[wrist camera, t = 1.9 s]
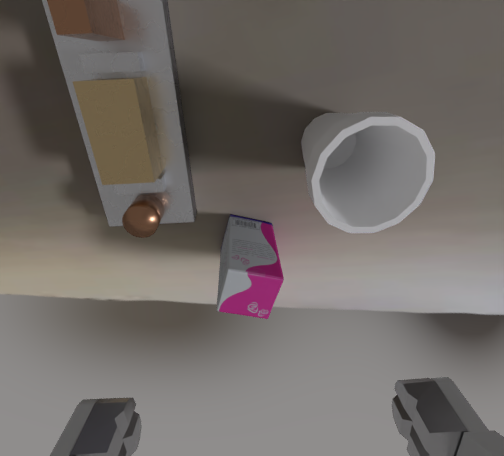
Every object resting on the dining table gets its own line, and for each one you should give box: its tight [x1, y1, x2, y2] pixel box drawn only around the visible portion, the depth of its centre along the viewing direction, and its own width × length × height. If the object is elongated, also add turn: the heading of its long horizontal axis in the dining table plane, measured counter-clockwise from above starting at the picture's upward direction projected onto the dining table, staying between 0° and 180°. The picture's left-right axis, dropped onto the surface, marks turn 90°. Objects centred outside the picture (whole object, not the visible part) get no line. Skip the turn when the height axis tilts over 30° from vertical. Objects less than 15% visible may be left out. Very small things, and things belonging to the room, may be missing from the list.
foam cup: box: [301, 112, 435, 233], centre depth 29 cm, size 10×9×13 cm
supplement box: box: [217, 214, 284, 319], centre depth 35 cm, size 6×6×12 cm
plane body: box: [42, 0, 197, 238], centre depth 29 cm, size 22×10×10 cm, turn 2°
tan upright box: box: [73, 77, 163, 185], centre depth 29 cm, size 9×5×4 cm, turn 2°
